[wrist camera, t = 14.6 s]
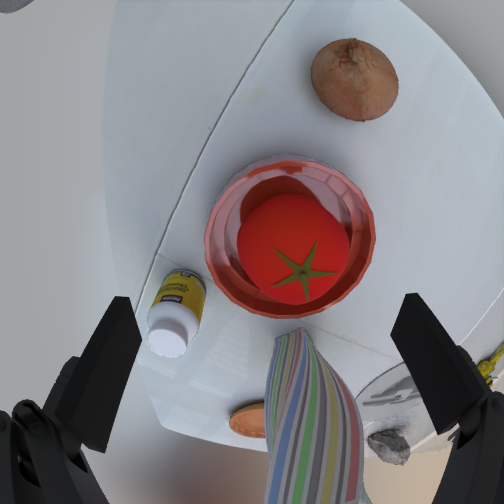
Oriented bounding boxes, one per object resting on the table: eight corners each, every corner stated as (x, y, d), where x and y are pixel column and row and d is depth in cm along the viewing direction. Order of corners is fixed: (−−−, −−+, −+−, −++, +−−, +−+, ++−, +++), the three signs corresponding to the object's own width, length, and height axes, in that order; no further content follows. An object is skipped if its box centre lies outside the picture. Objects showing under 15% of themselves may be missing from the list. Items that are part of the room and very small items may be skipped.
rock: (363, 440, 64) (395, 466, 51) (385, 418, 66) (418, 442, 53) (368, 451, 71) (395, 473, 58) (387, 432, 73) (415, 453, 60)
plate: (334, 424, 59) (335, 428, 58) (384, 356, 47) (386, 360, 46) (413, 413, 62) (414, 416, 60) (466, 349, 49) (468, 352, 48)
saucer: (256, 434, 60) (256, 443, 57) (215, 411, 54) (214, 421, 51) (310, 415, 56) (312, 425, 53) (275, 389, 50) (276, 401, 47)
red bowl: (209, 153, 31) (200, 159, 25) (365, 160, 31) (387, 169, 26) (215, 291, 39) (210, 318, 34) (344, 290, 39) (357, 315, 34)
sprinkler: (472, 409, 55) (471, 395, 48) (463, 394, 62) (460, 377, 55) (512, 372, 51) (517, 350, 43) (502, 359, 58) (504, 335, 50)
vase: (277, 376, 48) (291, 527, 21) (238, 333, 43) (234, 524, 16) (344, 348, 45) (391, 503, 18) (316, 297, 40) (375, 499, 13)
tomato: (291, 286, 38) (303, 339, 29) (220, 234, 34) (210, 279, 25) (349, 229, 34) (383, 269, 25) (281, 165, 31) (296, 185, 21)
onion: (311, 69, 28) (300, 21, 19) (382, 68, 26) (393, 22, 16) (319, 134, 29) (311, 98, 20) (396, 134, 27) (418, 100, 17)
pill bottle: (205, 267, 37) (190, 324, 27) (208, 305, 40) (198, 364, 30) (160, 267, 37) (132, 320, 27) (167, 304, 40) (146, 360, 30)
